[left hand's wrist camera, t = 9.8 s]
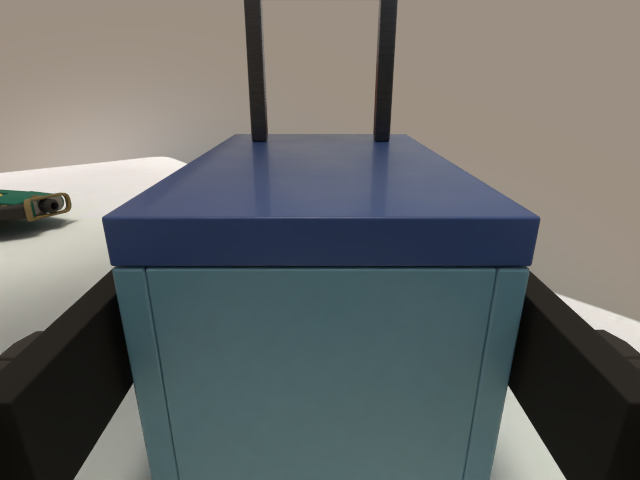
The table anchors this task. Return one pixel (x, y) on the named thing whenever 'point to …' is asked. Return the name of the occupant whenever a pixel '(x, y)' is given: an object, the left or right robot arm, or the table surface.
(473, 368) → the chest
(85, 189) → the table surface
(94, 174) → the table surface
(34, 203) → the spray gun
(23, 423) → the left robot arm
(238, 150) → the lid
